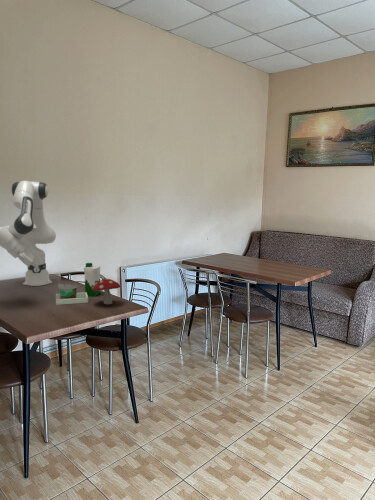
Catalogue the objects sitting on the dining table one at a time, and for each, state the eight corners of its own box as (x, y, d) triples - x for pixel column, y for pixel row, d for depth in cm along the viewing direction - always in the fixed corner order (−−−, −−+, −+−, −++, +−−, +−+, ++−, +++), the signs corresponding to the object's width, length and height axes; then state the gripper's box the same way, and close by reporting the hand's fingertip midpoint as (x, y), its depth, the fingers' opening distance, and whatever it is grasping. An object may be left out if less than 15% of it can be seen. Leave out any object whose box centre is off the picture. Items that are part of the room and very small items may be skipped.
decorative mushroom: (88, 307, 216) (88, 281, 214) (97, 299, 232) (97, 275, 230) (116, 308, 215) (116, 282, 213) (123, 300, 231) (123, 276, 229)
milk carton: (89, 292, 247) (88, 261, 244) (102, 293, 246) (101, 262, 243) (82, 295, 239) (82, 264, 236) (96, 297, 237) (95, 265, 234)
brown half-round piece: (54, 301, 226) (53, 284, 225) (60, 298, 232) (60, 282, 231) (71, 303, 223) (71, 286, 221) (78, 300, 228) (77, 284, 227)
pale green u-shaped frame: (55, 298, 231) (55, 294, 231) (86, 296, 237) (86, 292, 237) (55, 304, 219) (55, 299, 219) (88, 302, 225) (88, 297, 225)
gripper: (21, 249, 206) (41, 266, 210) (24, 244, 225) (42, 259, 229) (12, 257, 205) (32, 274, 210) (16, 251, 224) (34, 267, 229)
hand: (37, 266), depth 220 cm, fingers closed
